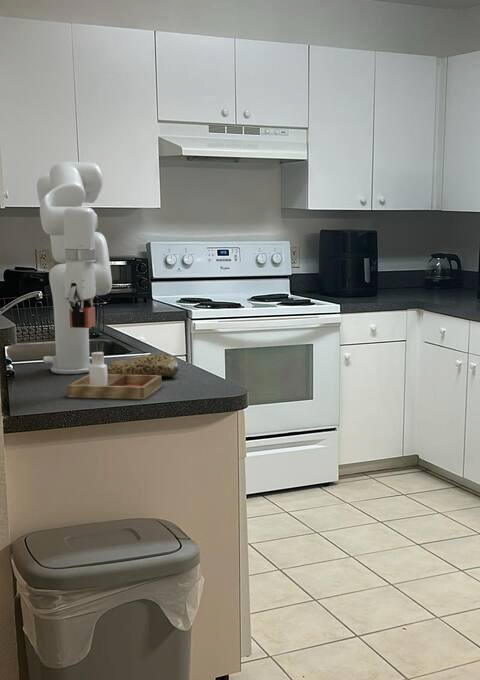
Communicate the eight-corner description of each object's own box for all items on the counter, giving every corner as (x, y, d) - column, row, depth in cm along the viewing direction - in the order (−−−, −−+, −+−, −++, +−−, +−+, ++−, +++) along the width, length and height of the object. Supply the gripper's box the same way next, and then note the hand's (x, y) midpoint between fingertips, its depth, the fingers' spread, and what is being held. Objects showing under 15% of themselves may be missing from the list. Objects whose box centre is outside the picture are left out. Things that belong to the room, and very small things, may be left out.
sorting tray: (67, 397, 230) (67, 385, 230) (90, 384, 246) (89, 373, 246) (144, 399, 229) (144, 387, 228) (161, 386, 245) (161, 375, 244)
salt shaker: (89, 389, 236) (87, 354, 234) (93, 386, 240) (92, 351, 238) (104, 389, 236) (103, 354, 234) (108, 386, 240) (107, 351, 238)
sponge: (169, 376, 264) (101, 367, 256) (175, 351, 262) (106, 341, 254) (178, 393, 253) (107, 384, 245) (184, 367, 251) (113, 357, 243)
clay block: (69, 327, 234) (69, 308, 233) (77, 325, 238) (76, 306, 238) (88, 328, 233) (87, 308, 232) (95, 325, 238) (95, 306, 237)
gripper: (79, 254, 242) (81, 321, 244) (52, 257, 225) (55, 329, 228) (106, 254, 241) (108, 321, 244) (81, 258, 224) (84, 330, 227)
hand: (83, 324), depth 236 cm, fingers closed on clay block, 5 cm apart
